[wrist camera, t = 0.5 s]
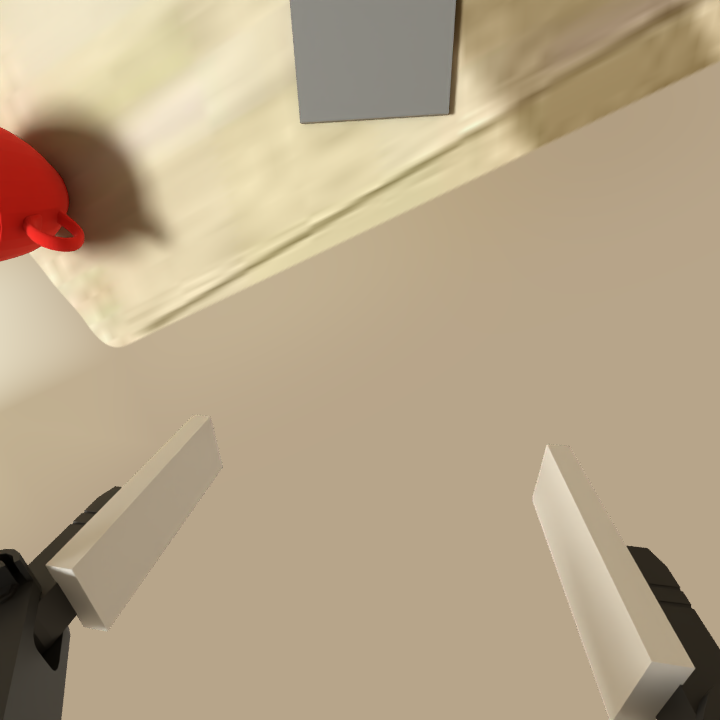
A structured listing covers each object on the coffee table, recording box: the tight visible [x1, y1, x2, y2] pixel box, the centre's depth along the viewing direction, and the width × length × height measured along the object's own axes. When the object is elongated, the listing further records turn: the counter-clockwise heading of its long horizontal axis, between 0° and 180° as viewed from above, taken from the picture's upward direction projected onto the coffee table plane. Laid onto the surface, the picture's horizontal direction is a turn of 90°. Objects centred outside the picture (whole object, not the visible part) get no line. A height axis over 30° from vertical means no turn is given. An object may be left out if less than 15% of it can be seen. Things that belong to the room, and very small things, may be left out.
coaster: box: [290, 0, 456, 124], centre depth 29 cm, size 13×13×1 cm
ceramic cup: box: [0, 127, 84, 261], centre depth 35 cm, size 13×17×10 cm
